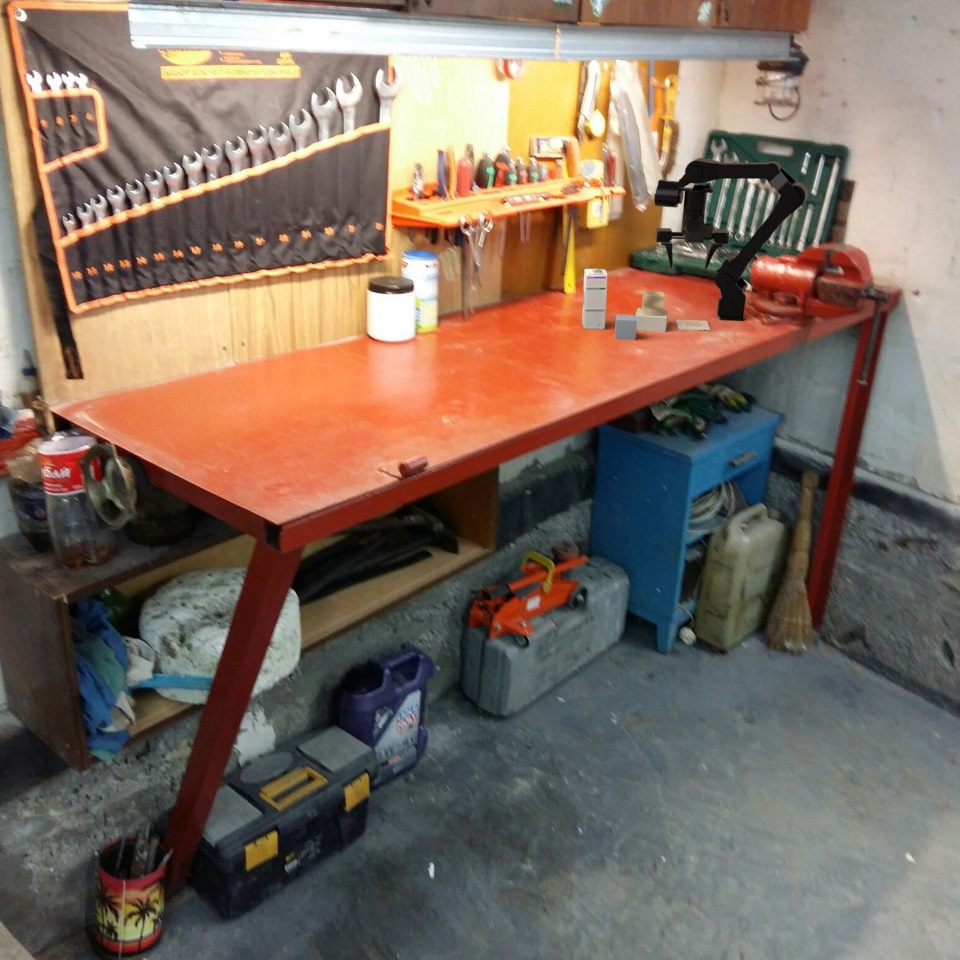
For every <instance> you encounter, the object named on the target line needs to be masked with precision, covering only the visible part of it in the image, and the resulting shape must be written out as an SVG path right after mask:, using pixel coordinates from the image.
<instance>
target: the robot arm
mask: <svg viewBox="0 0 960 960" xmlns="http://www.w3.org/2000/svg"><path fill="white" fill-rule="evenodd" d="M722 179H724V180H725V179H726V180H727V179H728V180H729V179H730V180H731V179H733V180H734V179H735V180H736V179H741V180H742V179H743V180H744V179H745V180H746V179H747V180H748V179H749V180H753V179H755V180H756V179H757V180H758V179H759V180H761V179H762V180H763V179H765V180H766V179H767V181H768V182H769V183H770V185H771V186H772V187H773V188H774V190H775V191H776V193H777V194H778V195H779V196H780V197H779V198H778V200H777V201H776V204H775V205H774V207H773V210H772V211H771V213H770V214H769V215H768V216H767V218H766V219H765V220H764V222H763V223H762V224H761V225H760V227H759V228H758V229H757V230H756V232H754V234H753V235H752V237H750V239H749V240H748V241H747V242H746V244H745V245H744V246H743V247H742V249H741V250H740V251H739V253H737V254H736V255H735V256H734V257H733V256H732V255H731V254H729V255H728V256H727V257H726V258H725V259H724V261H723V262H722V264H721V265H720V266H719V267H718V268H717V269H716V270H715V271H716V275H715V276H714V283H715V285H716V287H717V289H719V290H720V297H718V298H717V303H716V305H717V306H716V315H717V317H718V318H719V320H728V321H730V320H731V321H735V320H736V321H745V307H746V300H747V296H746V294H745V292H746V290H747V288H748V286H749V285H748V283H747V282H746V280H744V278H743V275H744V272H745V271H746V269H747V267H748V265H749V264H750V261H751V260H752V259H753V258H754V257H755V255H756V254H757V253H758V252H759V251H760V249H761V248H762V247H763V246H764V245H765V243H766V242H767V241H768V240H769V239H770V237H771V236H772V235H773V234H774V232H775V231H777V229H778V227H779V226H780V225H781V224H782V223H783V222H784V221H785V220H786V219H787V218H788V217H790V216H791V215H793V213H794V212H795V211H797V210H798V209H799V208H800V207H801V206H802V205H803V204H804V203H805V202H806V200H807V198H808V196H809V189H808V187H807V186H806V185H805V184H804V183H802V182H799V181H797V180H796V179H795V178H794V177H793V176H792V175H791V174H790V173H788V172H787V171H786V170H785V169H784V168H783V167H782V166H781V165H780V163H779V162H777V161H774V160H773V161H768V162H723V161H718V160H714V159H708V158H703V157H700V158H699V157H698V158H695V159H693V160H692V161H690V162H689V163H688V164H687V165H686V167H685V171H684V174H683V176H681V178H680V179H679V178H678V181H677V180H667V179H659V180H657V186H656V189H655V193H654V199H653V202H654V206H656V207H662V208H663V207H664V208H675V209H677V208H678V206H679V205H682V204H683V205H682V206H683V208H682V219H681V229H680V231H673V230H672V228H670V227H657V228H656V229H655V232H654V234H655V235H654V239H655V241H656V242H657V243H660V246H663V247H664V248H665V250H666V254H667V255H666V256H667V259H668V263H669V268H670V269H673V263H674V262H673V242H672V240H684V241H685V243H688V244H691V243H699V244H703V243H704V241H708V244H707V251H706V255H705V259H704V260H705V261H704V270H707V269H708V267H709V265H710V263H711V261H712V258H713V256H714V254H715V253H716V251H717V250H718V249H719V248H723V245H728V244H729V239H730V237H729V233H728V232H727V231H726V229H719V228H718V229H714V223H713V222H712V223H709V222H708V223H706V222H705V218H706V217H705V215H706V206H707V198H708V194H713V193H714V192H716V188H715V187H714V186H713V185H712V183H711V182H712V181H716V180H722ZM702 183H706V184H702ZM690 184H693V187H687V186H688V185H690Z"/></svg>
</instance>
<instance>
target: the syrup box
mask: <svg viewBox="0 0 960 960" xmlns="http://www.w3.org/2000/svg"><path fill="white" fill-rule="evenodd" d="M583 274H584V275H583V290H582V291H583V296H582V311H581V313H582V317H581V324H582V326H583V327H582V328H583V329H584V330H606V317H607V316H606V315H607V299H608V298H607V295H608V294H607V293H608V275H609V274H608V272H607V270H606V269H605V268H585V269H584V272H583Z"/></svg>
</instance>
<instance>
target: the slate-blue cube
mask: <svg viewBox="0 0 960 960" xmlns="http://www.w3.org/2000/svg"><path fill="white" fill-rule="evenodd" d="M614 325H615V327H614V340H621V339H623V340H626V341H629V340H630V341H636V337H637V336H636V335H637V330H636V325H637V318H636V314H635V315H633V314H616V315H615V324H614ZM623 340H622V341H623Z"/></svg>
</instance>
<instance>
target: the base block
mask: <svg viewBox="0 0 960 960" xmlns="http://www.w3.org/2000/svg"><path fill="white" fill-rule="evenodd" d="M669 311H670V310H669V309H663V316H650V315H643V313H642V307H637V310H636V312H635V315H636V318H637V325H636V331H647V332H648V331H649V332H659V333H661V332H662V333H666V330H667V328H668V321H669V320H668V318H669Z"/></svg>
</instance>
